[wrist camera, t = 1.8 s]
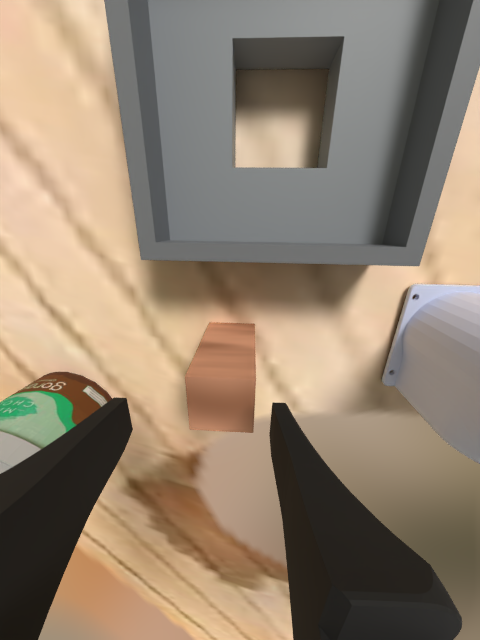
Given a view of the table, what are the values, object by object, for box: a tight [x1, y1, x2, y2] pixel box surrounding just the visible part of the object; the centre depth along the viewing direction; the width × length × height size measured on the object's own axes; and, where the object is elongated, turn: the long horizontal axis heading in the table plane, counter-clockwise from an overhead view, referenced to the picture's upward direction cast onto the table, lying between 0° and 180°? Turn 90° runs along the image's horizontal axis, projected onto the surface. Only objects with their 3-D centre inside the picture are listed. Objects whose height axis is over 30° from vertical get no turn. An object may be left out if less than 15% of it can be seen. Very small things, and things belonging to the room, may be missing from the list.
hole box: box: [104, 0, 480, 266], centre depth 13 cm, size 16×16×5 cm
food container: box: [0, 372, 112, 474], centre depth 19 cm, size 12×6×10 cm, turn 109°
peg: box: [185, 323, 256, 433], centre depth 17 cm, size 4×4×8 cm
